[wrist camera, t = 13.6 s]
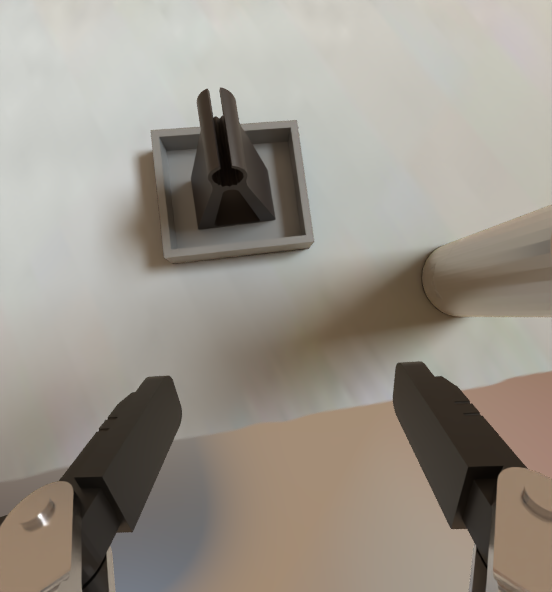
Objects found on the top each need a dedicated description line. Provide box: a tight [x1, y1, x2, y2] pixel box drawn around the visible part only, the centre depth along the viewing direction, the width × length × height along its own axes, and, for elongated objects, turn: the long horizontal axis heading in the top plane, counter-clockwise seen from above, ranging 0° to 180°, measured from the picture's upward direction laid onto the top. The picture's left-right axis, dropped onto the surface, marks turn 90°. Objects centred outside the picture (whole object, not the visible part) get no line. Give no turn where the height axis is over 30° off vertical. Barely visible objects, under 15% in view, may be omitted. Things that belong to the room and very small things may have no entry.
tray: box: [151, 120, 314, 264], centre depth 30 cm, size 16×14×3 cm
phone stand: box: [191, 88, 276, 230], centre depth 25 cm, size 9×6×12 cm, turn 99°
